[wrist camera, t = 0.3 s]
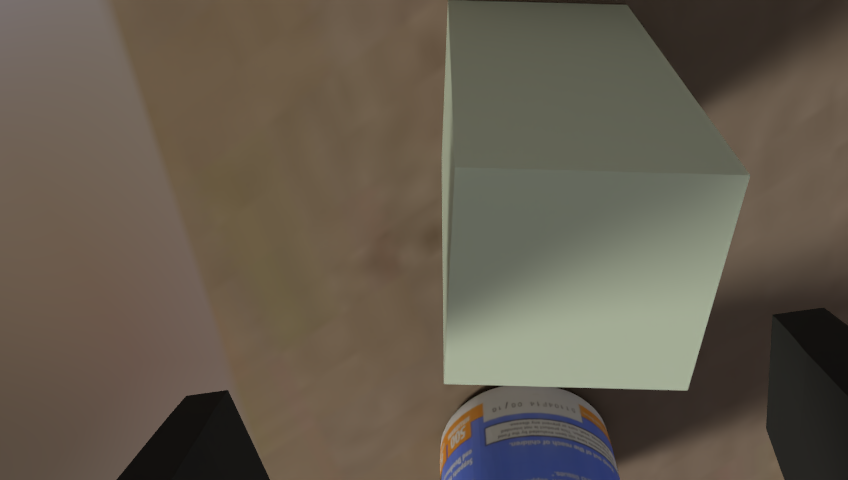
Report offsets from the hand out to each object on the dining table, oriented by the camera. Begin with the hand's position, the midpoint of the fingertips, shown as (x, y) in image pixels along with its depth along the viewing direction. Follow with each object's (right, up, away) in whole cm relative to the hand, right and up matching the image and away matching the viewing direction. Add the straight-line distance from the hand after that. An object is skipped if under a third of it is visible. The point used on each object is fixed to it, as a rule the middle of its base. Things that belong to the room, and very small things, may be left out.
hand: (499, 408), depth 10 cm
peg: (+1, +6, +8) cm, 10 cm away
